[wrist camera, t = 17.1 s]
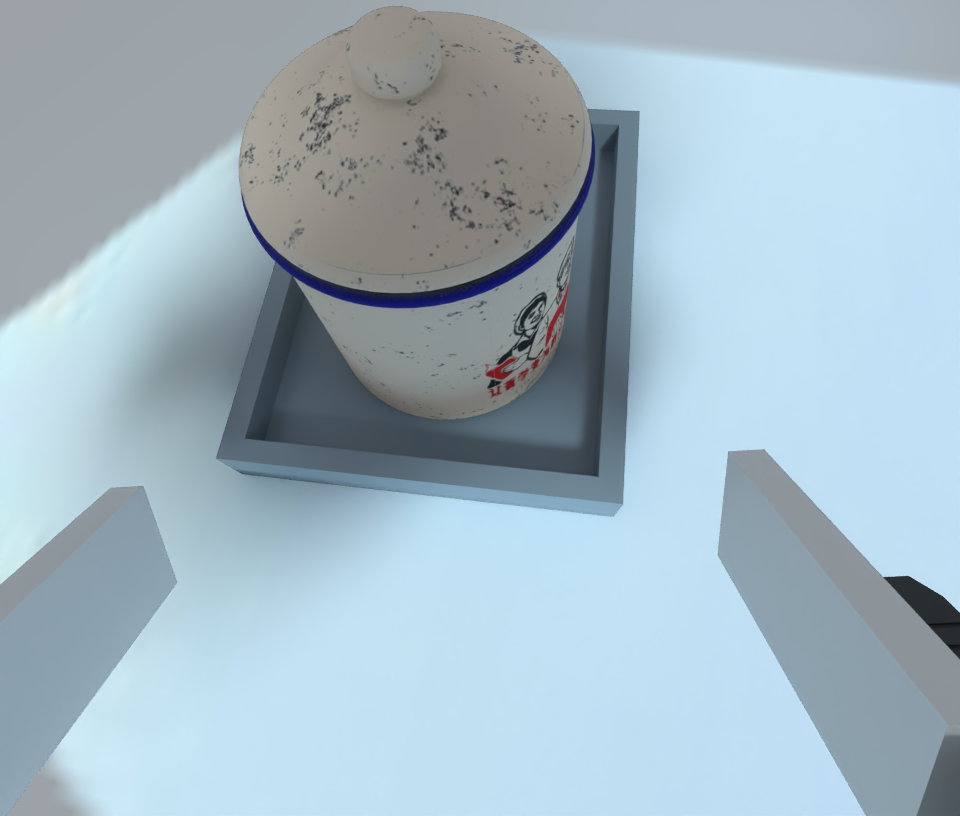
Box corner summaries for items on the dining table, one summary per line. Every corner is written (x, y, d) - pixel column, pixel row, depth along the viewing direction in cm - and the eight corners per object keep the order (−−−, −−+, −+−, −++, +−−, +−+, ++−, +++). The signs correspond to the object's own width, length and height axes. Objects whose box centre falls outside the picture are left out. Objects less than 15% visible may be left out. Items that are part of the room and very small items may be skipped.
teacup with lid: (539, 455, 21) (560, 250, 10) (303, 399, 22) (90, 166, 11) (603, 190, 25) (669, -162, 14) (401, 157, 26) (315, -185, 15)
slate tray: (631, 148, 26) (639, 111, 24) (613, 516, 20) (623, 504, 18) (338, 134, 28) (325, 98, 26) (242, 473, 22) (215, 458, 20)
